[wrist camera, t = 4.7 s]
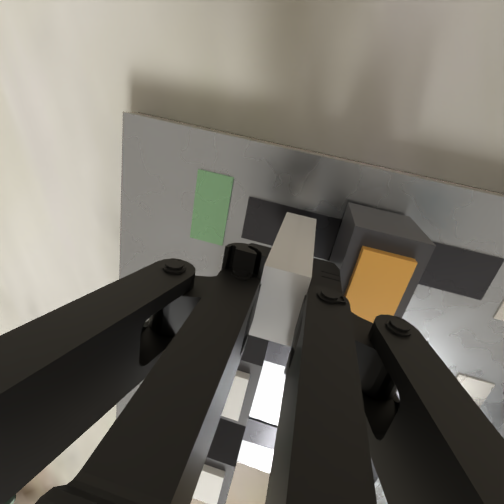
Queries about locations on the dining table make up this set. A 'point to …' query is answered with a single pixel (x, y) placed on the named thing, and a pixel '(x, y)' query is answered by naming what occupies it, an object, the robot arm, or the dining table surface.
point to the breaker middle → (245, 381)
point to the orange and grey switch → (379, 260)
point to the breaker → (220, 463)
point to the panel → (327, 227)
